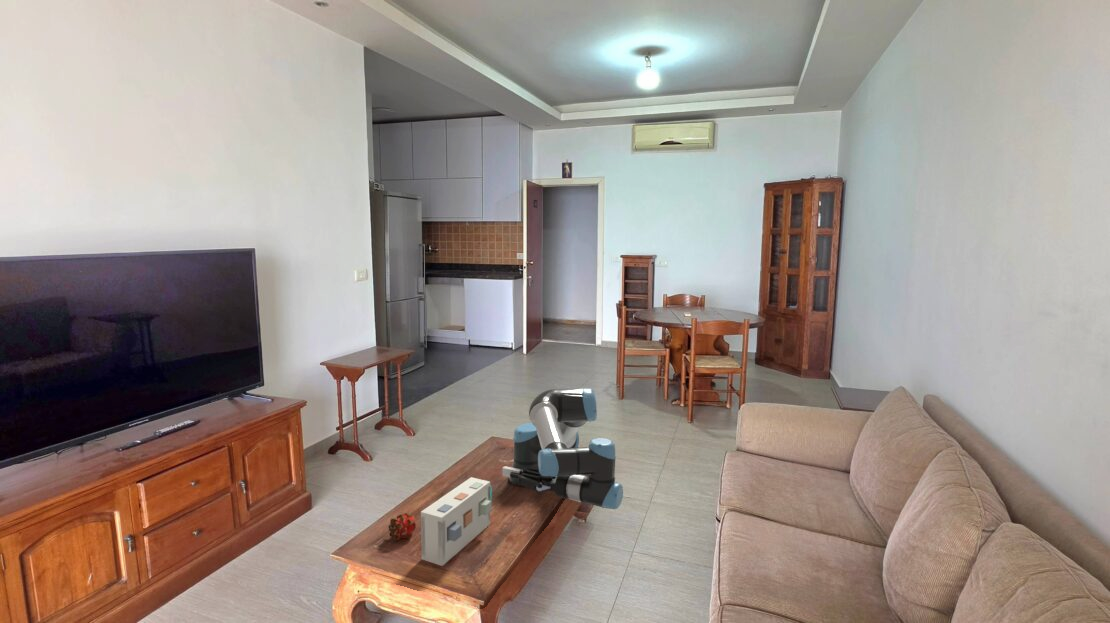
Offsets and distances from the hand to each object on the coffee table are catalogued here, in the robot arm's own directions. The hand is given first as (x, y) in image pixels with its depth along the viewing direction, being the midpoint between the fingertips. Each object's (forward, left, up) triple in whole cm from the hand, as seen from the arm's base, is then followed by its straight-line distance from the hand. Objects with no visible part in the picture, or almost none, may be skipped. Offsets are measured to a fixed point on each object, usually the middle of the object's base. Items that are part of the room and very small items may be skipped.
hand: (503, 470), depth 175 cm
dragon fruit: (+30, -21, -28) cm, 46 cm away
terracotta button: (+11, -10, -21) cm, 26 cm away
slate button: (+16, -3, -21) cm, 27 cm away
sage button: (+3, -15, -21) cm, 26 cm away
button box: (+13, -12, -28) cm, 33 cm away
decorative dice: (+1, -34, -28) cm, 44 cm away
